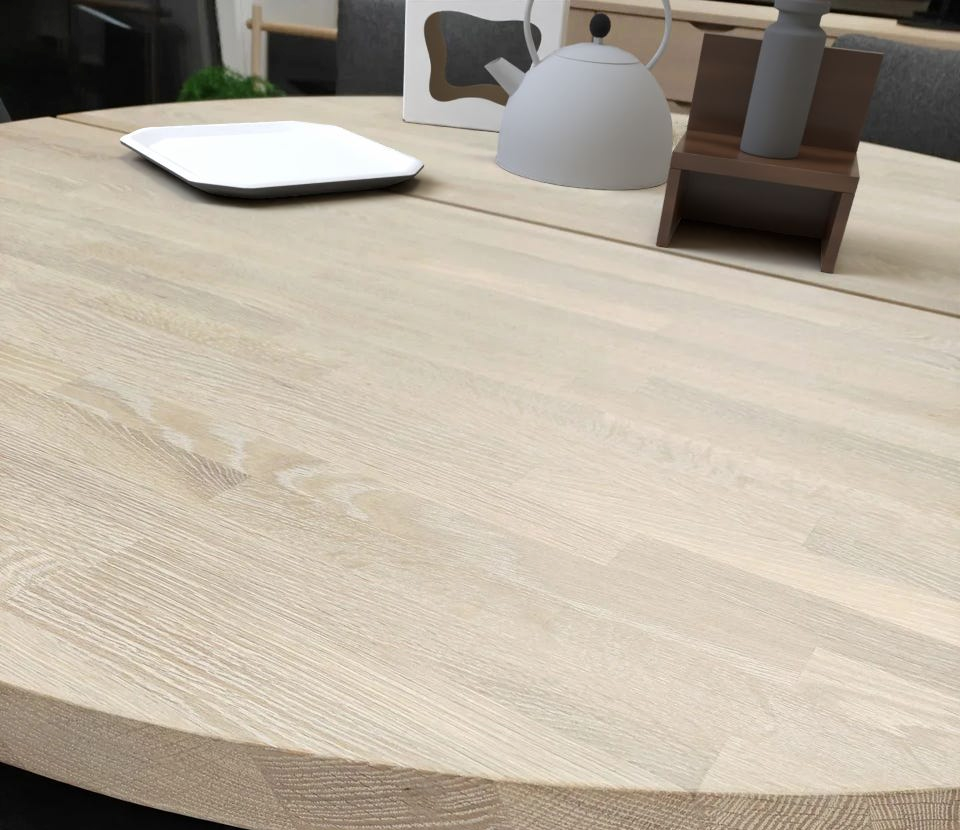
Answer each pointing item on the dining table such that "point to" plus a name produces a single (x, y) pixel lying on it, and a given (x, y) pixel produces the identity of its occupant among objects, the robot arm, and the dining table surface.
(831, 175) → the brown wooden stand
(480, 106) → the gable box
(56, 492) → the dining table surface
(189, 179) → the plate
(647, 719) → the dining table surface
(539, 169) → the kettle
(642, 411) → the dining table surface
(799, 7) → the bottle
